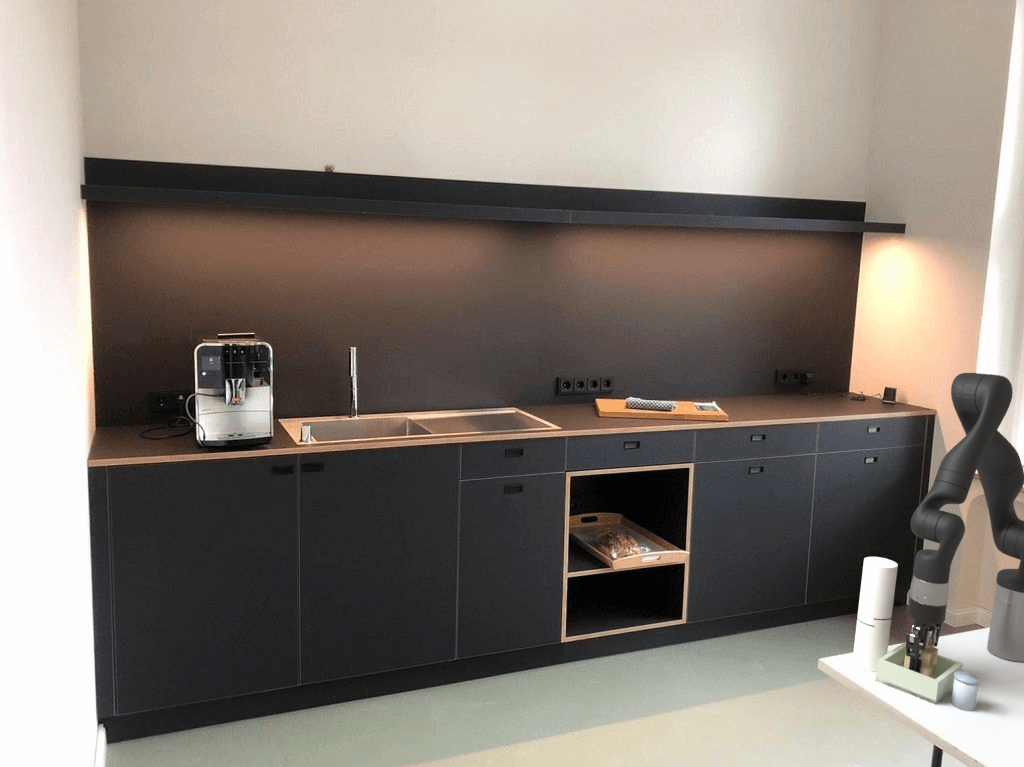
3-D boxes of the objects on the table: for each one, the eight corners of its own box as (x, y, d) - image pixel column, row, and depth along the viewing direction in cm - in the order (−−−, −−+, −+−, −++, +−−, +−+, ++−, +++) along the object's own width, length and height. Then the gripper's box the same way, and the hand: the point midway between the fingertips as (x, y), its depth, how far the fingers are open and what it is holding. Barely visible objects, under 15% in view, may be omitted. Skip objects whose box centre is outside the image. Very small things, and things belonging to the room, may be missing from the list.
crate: (901, 662, 201) (904, 642, 200) (960, 684, 191) (962, 663, 191) (875, 680, 191) (877, 659, 190) (935, 704, 182) (938, 682, 181)
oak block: (912, 665, 194) (915, 640, 194) (935, 673, 191) (938, 648, 190) (903, 671, 191) (906, 646, 190) (926, 680, 187) (929, 655, 187)
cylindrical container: (888, 673, 195) (901, 569, 191) (855, 669, 196) (867, 565, 192) (881, 659, 202) (893, 558, 198) (849, 655, 203) (861, 555, 199)
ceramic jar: (955, 697, 185) (959, 669, 184) (979, 706, 182) (983, 677, 181) (946, 704, 182) (950, 675, 181) (970, 713, 179) (974, 684, 178)
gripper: (924, 585, 196) (915, 654, 198) (897, 599, 186) (888, 672, 189) (958, 595, 190) (949, 667, 193) (932, 611, 181) (923, 686, 183)
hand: (919, 669), depth 191 cm, fingers closed on oak block, 5 cm apart
